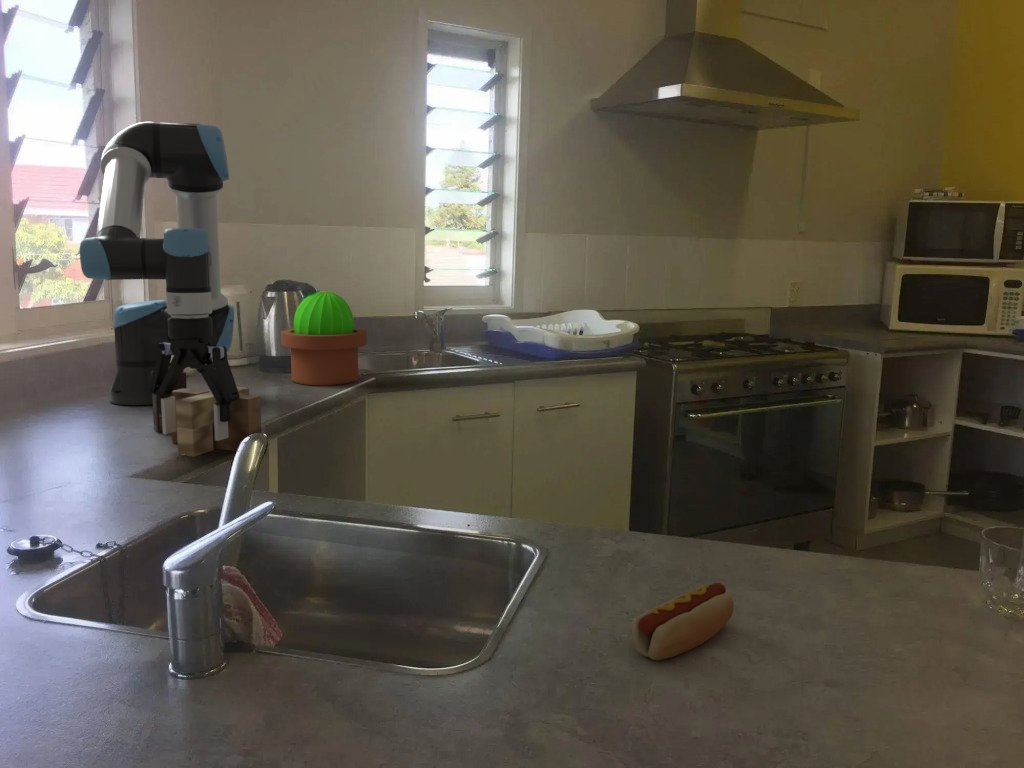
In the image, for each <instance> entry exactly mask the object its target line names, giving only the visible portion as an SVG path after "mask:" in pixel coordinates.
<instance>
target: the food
mask: <svg viewBox="0 0 1024 768" xmlns="http://www.w3.org/2000/svg"><path fill="white" fill-rule="evenodd" d="M726 589H727V588H726V586H725V585H724V584H722V583H721V582H714V583H711V584H709V585H707V584H702V585H700V586H698V587H697V588H695V589H691V590H689V591H686V592H685V593H682V594H679V595H678V596H676V597H673V598H672V599H669V600H668V601H665V602H662V603H661V604H659V605H657V606H654V607H653V608H651V609H649V610H646V611H645V612H643V613H642V614H640V615H638V616H636V617H634V618H633V619H632V621H631V624H630V634H631V635H630V636H631V640H632V643H633V645H634V647H635V649H636V651H637V652H638V653H639V654H640V655H642V656H643V657H645V658H649V659H651V660H653V661H663V660H667V659H670V658H673V657H676V656H678V655H681V654H683V653H685V652H687V651H690V650H691V649H694V648H696V647H699V646H701V645H702V644H704V643H705V642H707V641H708V640H710V639H712V638H713V637H714V636H716V635H717V634H718V633H719V632H720V631H721V630H722V629H723V627H725V626H726V624H727V623H728V622H729V621H730V619H731V618H732V615H733V613H734V599H733V594H732V593H731V591H727V590H726Z"/></svg>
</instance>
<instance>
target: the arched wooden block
mask: <svg viewBox="0 0 1024 768" xmlns="http://www.w3.org/2000/svg"><path fill="white" fill-rule="evenodd" d="M237 389H238V392H239V394H244V395H250V387H243V386H237ZM216 402H217V401H216V399H215V397H214V396H213V394H212V392H211V391H209V393H205V394H200V395H196V396H192V397H187V398H183V399H179V400H176V420H177V440H178V444H177V455H178V454H185V455H186V457H193V458H194V457H197V456H200V455H204V454H207V453H209V452H212V451H214V450H215V448H214V447H213V423H214V404H215V403H216ZM185 455H184V456H185Z"/></svg>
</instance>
